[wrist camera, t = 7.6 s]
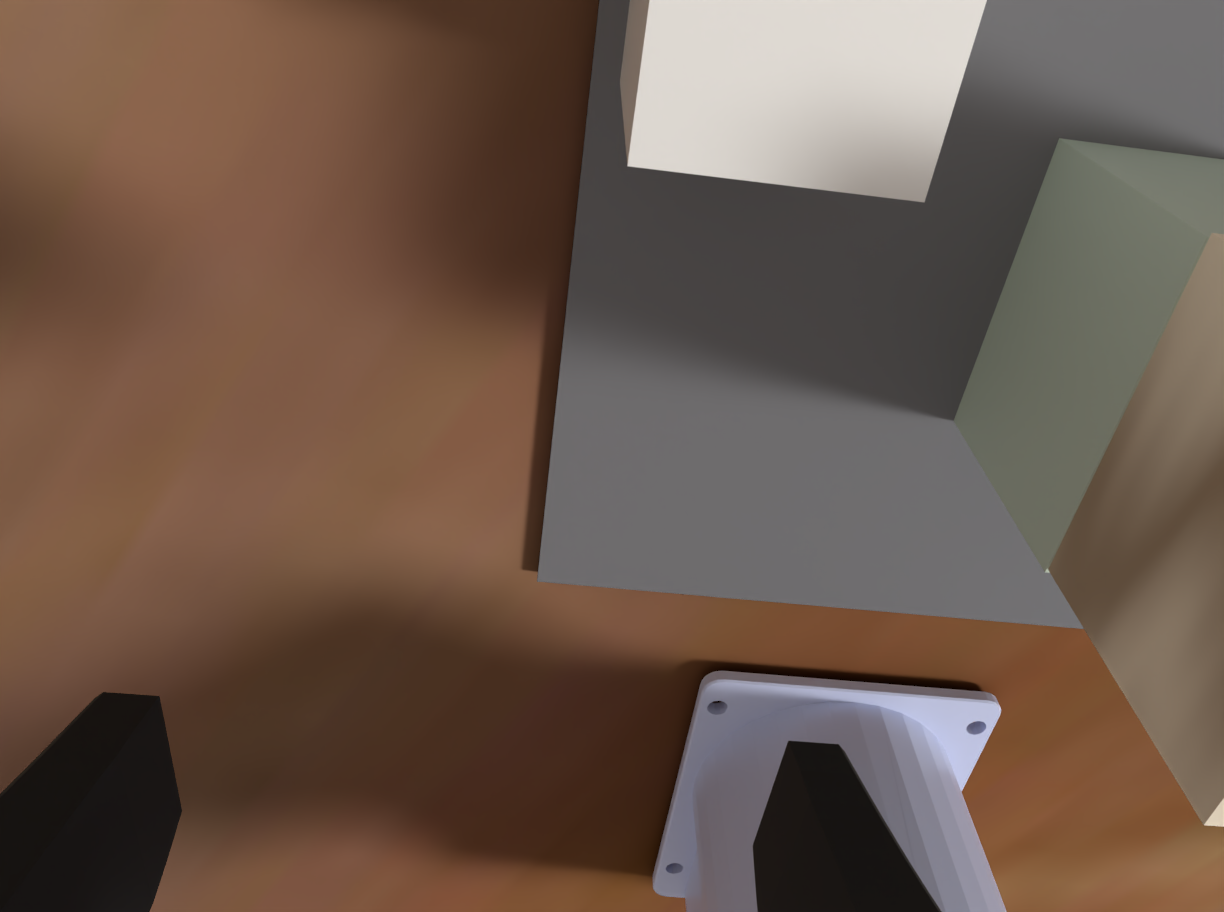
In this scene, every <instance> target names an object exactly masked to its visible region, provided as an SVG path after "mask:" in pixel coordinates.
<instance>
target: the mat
mask: <svg viewBox="0 0 1224 912" xmlns="http://www.w3.org/2000/svg"><path fill="white" fill-rule="evenodd" d="M629 3H630V0H599V8H598V17H597V27H596V36H595V45H594V54H593V64H592V73H591V82H590V92H589V101H588V110H587V120H586V129H585V138H584V148H583V157H582V166H581V176H580V185H579V194H578V203H577V213H576V222H575V231H574V241H573V250H572V259H571V269H570V278H569V287H568V297H567V306H566V315H565V325H564V334H563V343H562V352H561V362H560V371H559V380H558V390H557V399H556V408H555V418H554V427H553V436H552V446H551V455H550V464H549V473H548V483H547V492H546V501H545V511H544V520H543V529H542V539H541V548H540V557H539V567H538V577H537V581H538V582H549V583H561V584H573V585H584V586H596V587H607V588H619V589H630V590H642V591H653V592H665V593H676V594H688V595H699V596H711V597H722V598H734V599H745V600H757V601H768V602H780V603H792V604H803V605H815V606H826V607H838V608H849V609H861V610H872V611H884V612H895V613H907V614H918V615H930V616H941V617H953V618H964V619H976V620H988V621H999V622H1011V623H1022V624H1034V625H1045V626H1057V627H1068V628H1080V629H1084V628H1083V626H1082V625H1081V623H1080V621H1079V620H1078V618H1077V616H1076V615H1075V613H1074V612H1073V610H1072V608H1071V607H1070V605H1069V603H1068V602H1067V600H1066V598H1065V597H1064V595H1063V593H1062V592H1061V590H1060V589H1059V587H1058V585H1057V584H1056V582H1055V580H1054V579H1053V577H1052V575H1051V574H1050V573H1046V572H1044V570H1043V569H1042V567H1041V565H1040V564H1039V562H1038V560H1037V559H1036V557H1035V555H1034V554H1033V552H1032V550H1031V549H1030V547H1029V545H1028V544H1027V542H1026V540H1025V539H1024V537H1023V535H1022V534H1021V532H1020V530H1019V529H1018V527H1017V525H1016V524H1015V522H1014V520H1013V519H1012V517H1011V515H1010V514H1009V512H1008V511H1007V509H1006V507H1005V506H1004V504H1003V502H1002V501H1001V499H1000V497H999V496H998V494H997V492H996V491H995V489H994V487H993V486H992V484H991V482H990V481H989V479H988V477H987V476H986V474H985V472H984V471H983V469H982V467H981V466H980V464H979V462H978V461H977V459H976V457H975V456H974V454H973V452H972V451H971V449H970V447H969V446H968V444H967V442H966V441H965V439H964V438H963V436H962V434H961V433H960V431H959V429H958V428H957V426H956V424H955V423H954V418H955V416H956V413H957V410H958V408H959V405H960V402H961V400H962V397H963V394H964V392H965V389H966V386H967V384H968V381H969V378H970V376H971V373H972V370H973V368H974V365H975V362H976V360H977V357H978V354H979V352H980V349H981V346H982V344H983V341H984V338H985V336H986V333H987V330H988V328H989V325H990V322H991V319H992V317H993V314H994V311H995V309H996V306H997V303H998V301H999V298H1000V295H1001V293H1002V290H1003V287H1004V285H1005V282H1006V279H1007V277H1008V274H1009V271H1010V269H1011V266H1012V263H1013V261H1014V258H1015V255H1016V253H1017V250H1018V247H1019V245H1020V242H1021V239H1022V237H1023V234H1024V231H1025V229H1026V226H1027V223H1028V220H1029V218H1030V215H1031V212H1032V210H1033V207H1034V204H1035V202H1036V199H1037V196H1038V194H1039V191H1040V188H1041V186H1042V183H1043V180H1044V178H1045V175H1046V172H1047V170H1048V167H1049V164H1050V162H1051V159H1052V156H1053V154H1054V151H1055V148H1056V146H1057V143H1058V140H1059V138H1061V139H1069V140H1077V141H1085V142H1092V143H1100V144H1108V145H1116V146H1123V147H1131V148H1139V149H1147V150H1154V151H1162V152H1170V153H1178V154H1185V155H1193V156H1201V157H1209V158H1216V159H1224V0H987V2H986V5H985V8H984V11H983V14H982V18H981V21H980V24H979V27H978V31H977V34H976V37H975V40H974V44H973V47H972V50H971V53H970V57H969V60H968V63H967V66H966V69H965V73H964V76H963V79H962V82H961V86H960V89H959V92H958V95H957V99H956V102H955V105H954V108H953V111H952V115H951V118H950V121H949V124H948V128H947V131H946V134H945V137H944V141H943V144H942V147H941V150H940V154H939V157H938V160H937V163H936V166H935V170H934V173H933V176H932V179H931V183H930V186H929V189H928V192H927V196H926V199H925V202H917V201H909V200H901V199H892V198H884V197H876V196H868V195H860V194H851V193H843V192H835V191H827V190H819V189H810V188H802V187H794V186H786V185H778V184H769V183H761V182H753V181H745V180H737V179H728V178H720V177H712V176H704V175H696V174H687V173H679V172H671V171H663V170H654V169H646V168H638V167H630V166H627V156H626V145H625V134H624V122H623V111H622V100H621V89H620V76H621V68H622V60H623V52H624V44H625V36H626V28H627V20H628V12H629Z"/></svg>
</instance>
